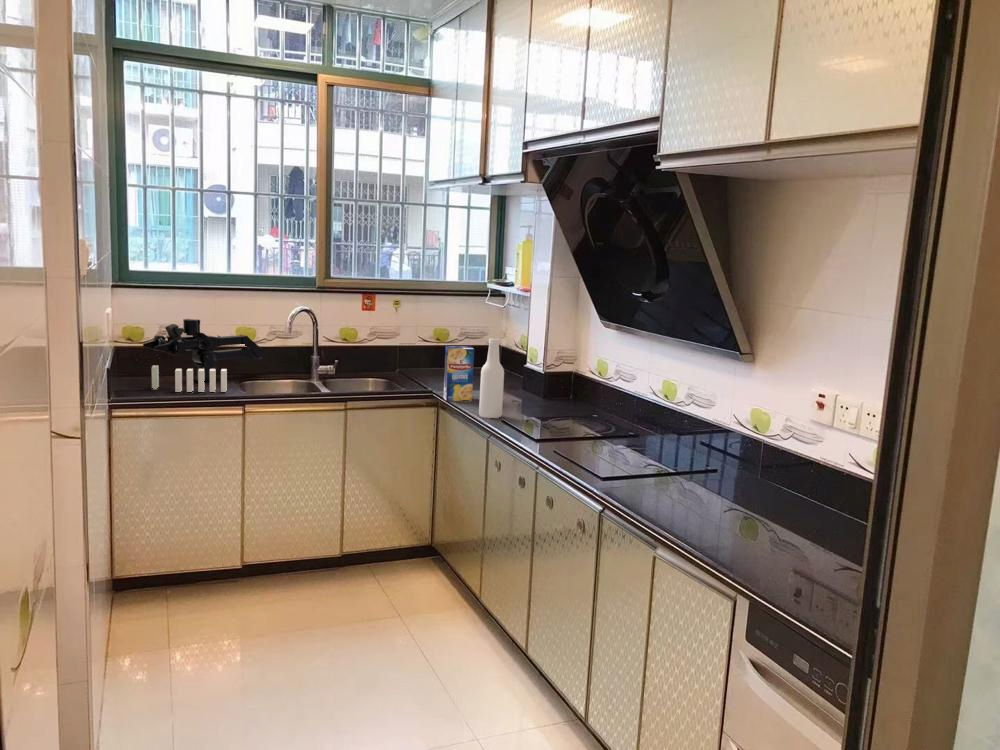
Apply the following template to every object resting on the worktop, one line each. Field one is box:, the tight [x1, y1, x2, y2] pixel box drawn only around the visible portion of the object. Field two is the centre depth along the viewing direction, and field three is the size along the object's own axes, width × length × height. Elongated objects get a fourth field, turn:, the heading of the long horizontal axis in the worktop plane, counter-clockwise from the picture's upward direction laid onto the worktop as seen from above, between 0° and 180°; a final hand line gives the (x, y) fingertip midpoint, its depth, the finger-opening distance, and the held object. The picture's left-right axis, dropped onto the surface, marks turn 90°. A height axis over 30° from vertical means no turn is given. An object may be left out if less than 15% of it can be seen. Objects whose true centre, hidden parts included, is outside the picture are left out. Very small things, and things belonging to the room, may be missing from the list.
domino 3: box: [186, 368, 194, 393], centre depth 326 cm, size 2×5×9 cm, turn 16°
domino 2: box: [174, 368, 183, 393], centre depth 325 cm, size 2×5×9 cm, turn 16°
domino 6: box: [220, 368, 228, 393], centre depth 330 cm, size 2×5×9 cm, turn 16°
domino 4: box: [197, 369, 205, 393], centre depth 328 cm, size 2×5×9 cm, turn 16°
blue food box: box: [442, 345, 475, 402], centre depth 339 cm, size 7×11×22 cm, turn 104°
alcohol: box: [478, 337, 505, 419], centre depth 309 cm, size 9×9×30 cm
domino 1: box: [151, 364, 160, 390], centre depth 330 cm, size 2×5×9 cm, turn 16°
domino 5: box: [209, 368, 217, 393], centre depth 329 cm, size 2×5×9 cm, turn 16°
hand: (148, 346), depth 330 cm, fingers open, 9 cm apart
